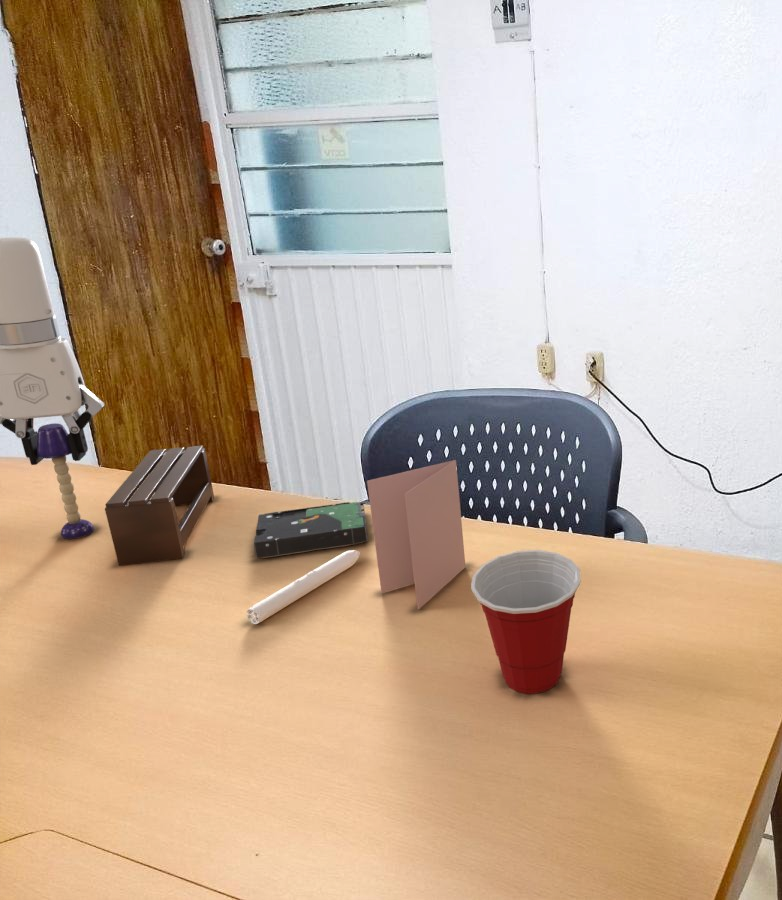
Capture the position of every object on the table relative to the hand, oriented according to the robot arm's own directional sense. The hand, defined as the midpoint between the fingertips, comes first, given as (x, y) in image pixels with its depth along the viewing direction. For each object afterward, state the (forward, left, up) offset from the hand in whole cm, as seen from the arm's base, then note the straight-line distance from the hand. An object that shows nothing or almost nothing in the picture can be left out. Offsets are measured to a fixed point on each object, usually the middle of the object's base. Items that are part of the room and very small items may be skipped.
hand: (59, 458), depth 117 cm
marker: (+35, -27, -12) cm, 46 cm away
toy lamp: (0, 0, -12) cm, 12 cm away
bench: (+13, -2, -12) cm, 18 cm away
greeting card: (+50, -31, -12) cm, 60 cm away
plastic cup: (+59, -53, -12) cm, 80 cm away
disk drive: (+34, -11, -12) cm, 38 cm away
